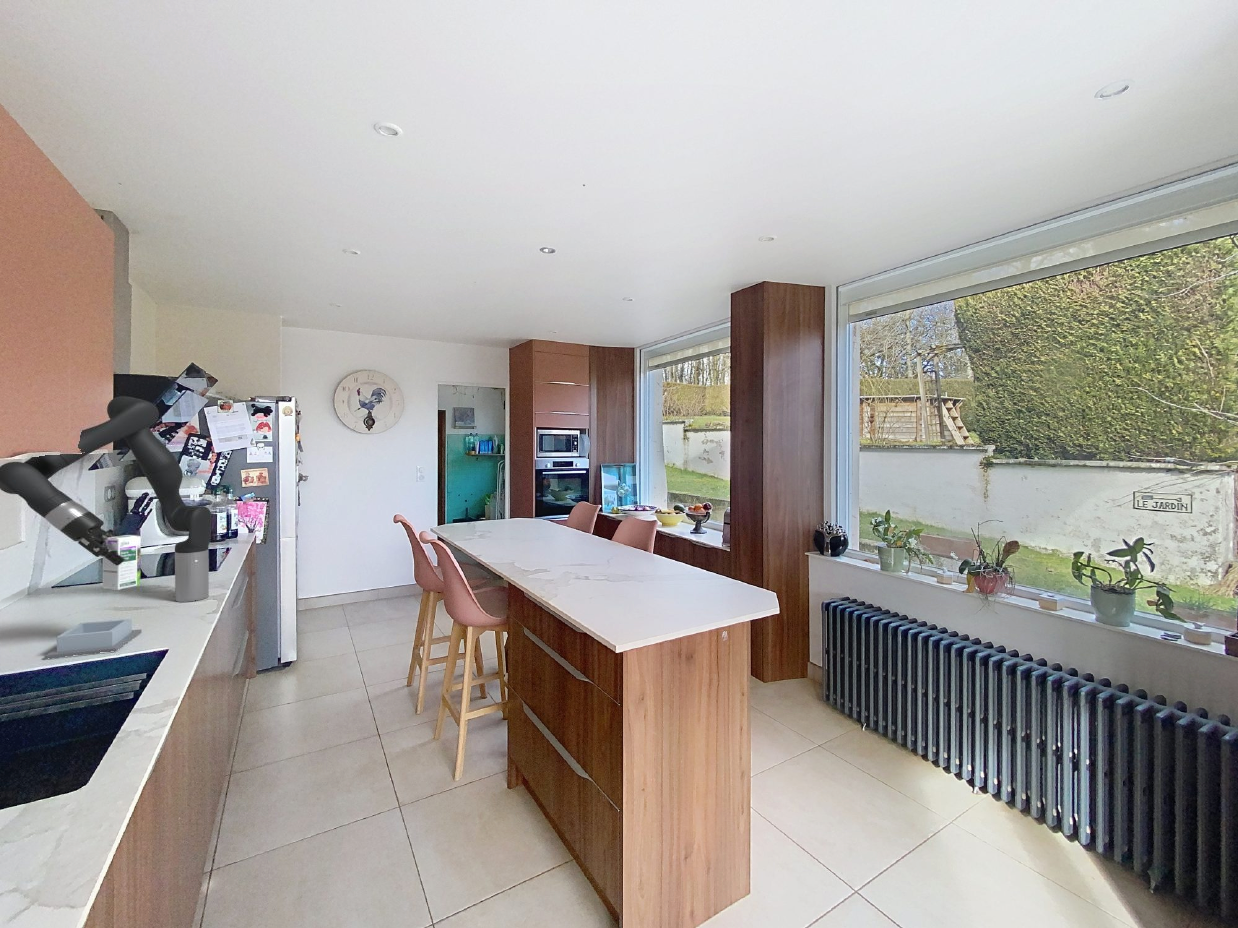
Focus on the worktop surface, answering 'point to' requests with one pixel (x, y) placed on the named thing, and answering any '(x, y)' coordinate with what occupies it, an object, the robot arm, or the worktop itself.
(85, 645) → the holder
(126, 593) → the worktop surface
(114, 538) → the syrup box
